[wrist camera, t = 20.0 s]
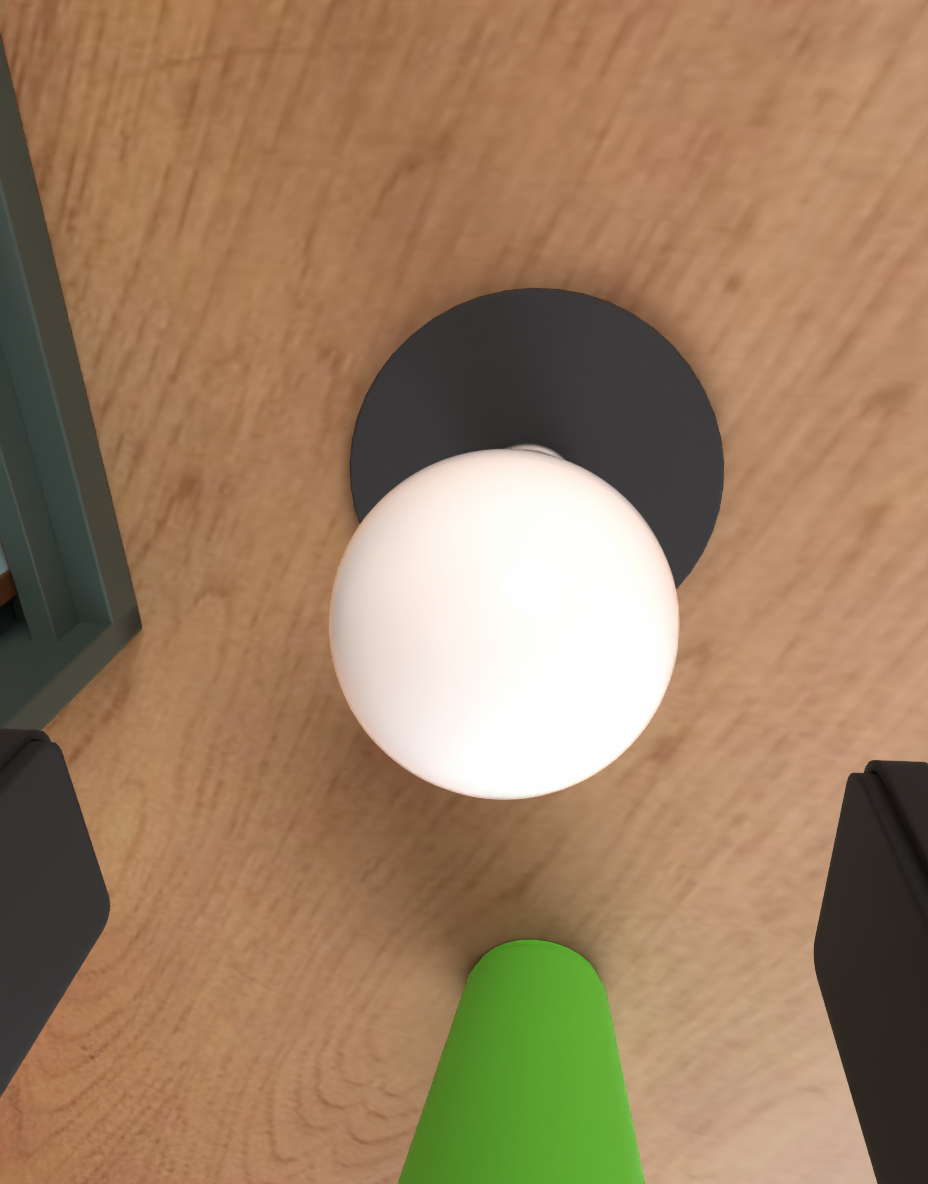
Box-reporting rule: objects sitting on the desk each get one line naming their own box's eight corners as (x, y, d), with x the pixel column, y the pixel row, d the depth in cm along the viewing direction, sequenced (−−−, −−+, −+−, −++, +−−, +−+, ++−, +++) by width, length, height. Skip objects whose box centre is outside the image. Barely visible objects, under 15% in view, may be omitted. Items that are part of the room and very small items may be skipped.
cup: (568, 1094, 34) (560, 1459, 25) (377, 993, 33) (289, 1334, 23) (710, 976, 30) (768, 1355, 21) (499, 857, 29) (455, 1199, 19)
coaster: (336, 293, 22) (329, 296, 21) (739, 280, 20) (743, 283, 20) (371, 634, 26) (367, 644, 25) (705, 643, 25) (707, 654, 24)
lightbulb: (700, 455, 22) (794, 685, 12) (558, 630, 24) (538, 935, 15) (494, 313, 21) (410, 436, 11) (370, 512, 23) (216, 752, 14)
